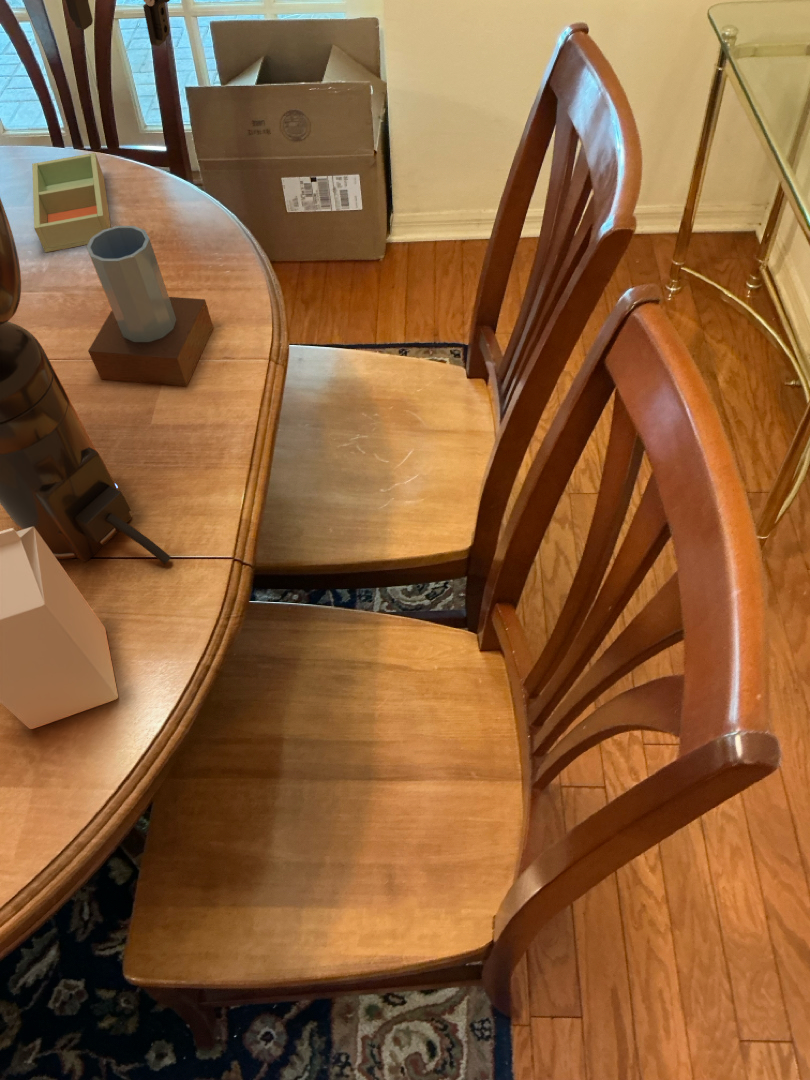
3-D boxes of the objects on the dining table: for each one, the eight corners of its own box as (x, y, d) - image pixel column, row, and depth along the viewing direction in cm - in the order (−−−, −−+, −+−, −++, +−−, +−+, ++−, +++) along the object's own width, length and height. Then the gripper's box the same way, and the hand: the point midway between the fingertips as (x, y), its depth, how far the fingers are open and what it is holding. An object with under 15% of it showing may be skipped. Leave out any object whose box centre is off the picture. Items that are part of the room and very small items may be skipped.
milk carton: (119, 699, 63) (18, 571, 47) (30, 731, 61) (-104, 609, 46) (106, 628, 67) (8, 489, 51) (22, 657, 65) (-105, 522, 50)
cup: (186, 318, 85) (161, 236, 77) (149, 349, 82) (117, 267, 74) (147, 300, 87) (117, 219, 79) (108, 330, 84) (74, 249, 76)
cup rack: (103, 176, 110) (95, 152, 107) (112, 239, 101) (103, 215, 98) (42, 187, 109) (32, 163, 106) (45, 252, 100) (34, 228, 97)
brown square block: (213, 327, 90) (205, 299, 87) (186, 386, 84) (177, 358, 81) (132, 321, 91) (121, 292, 88) (100, 379, 85) (87, 351, 82)
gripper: (-22, -173, 66) (41, 36, 79) (129, -146, 64) (167, 63, 77) (28, -195, 70) (80, 7, 83) (171, -169, 68) (200, 33, 82)
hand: (122, 34), depth 80 cm, fingers open, 8 cm apart
